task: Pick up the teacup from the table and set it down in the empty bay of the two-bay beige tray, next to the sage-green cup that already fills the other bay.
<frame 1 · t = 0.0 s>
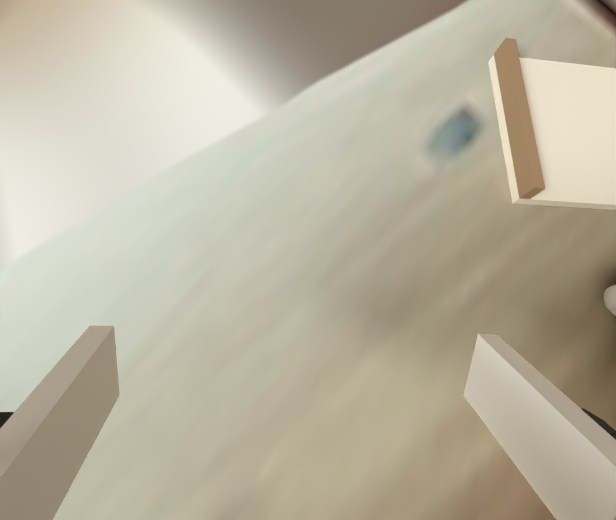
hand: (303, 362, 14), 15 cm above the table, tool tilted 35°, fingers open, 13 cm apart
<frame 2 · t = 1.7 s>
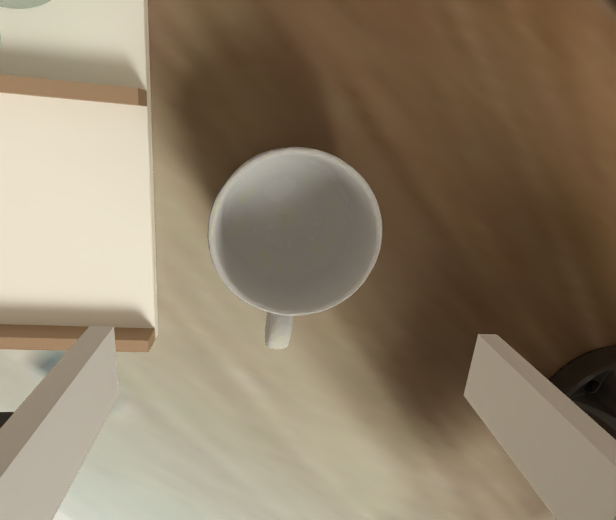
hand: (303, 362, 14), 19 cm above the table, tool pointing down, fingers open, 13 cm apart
beige tray: (28, 88, 27), on the table
teacup: (283, 230, 32), on the table
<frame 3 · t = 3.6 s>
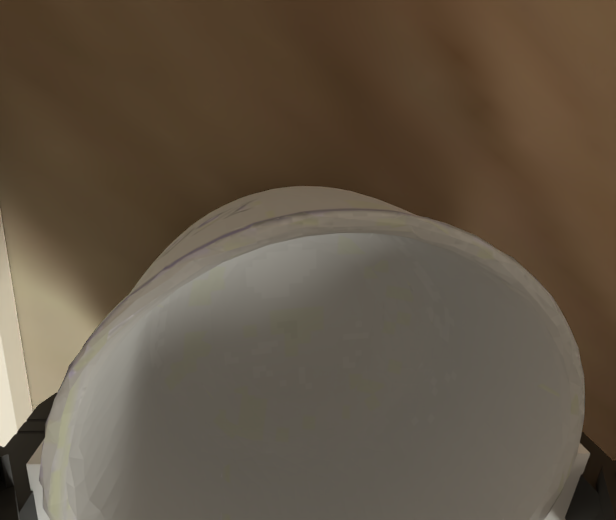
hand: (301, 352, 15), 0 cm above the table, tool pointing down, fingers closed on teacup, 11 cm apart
teacup: (289, 343, 16), on the table, touching gripper
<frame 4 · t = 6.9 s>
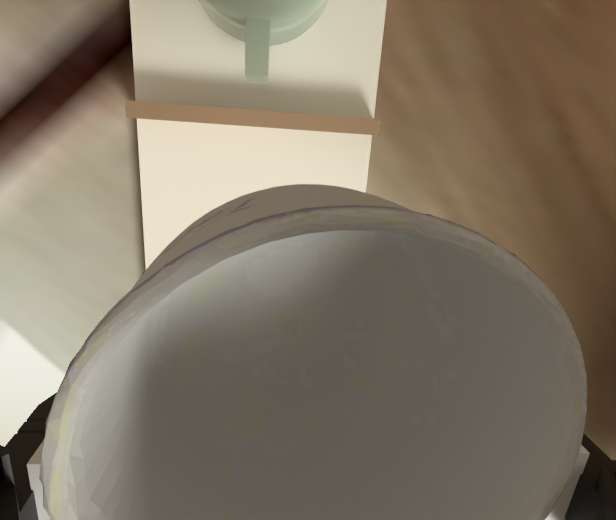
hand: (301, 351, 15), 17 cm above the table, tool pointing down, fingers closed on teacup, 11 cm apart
beige tray: (258, 119, 28), on the table
teacup: (289, 342, 16), point 16 cm above the table, touching gripper
when the fingers open (3 cm above the table, at t = 10.1 s): teacup drops 2 cm, resting on beige tray.
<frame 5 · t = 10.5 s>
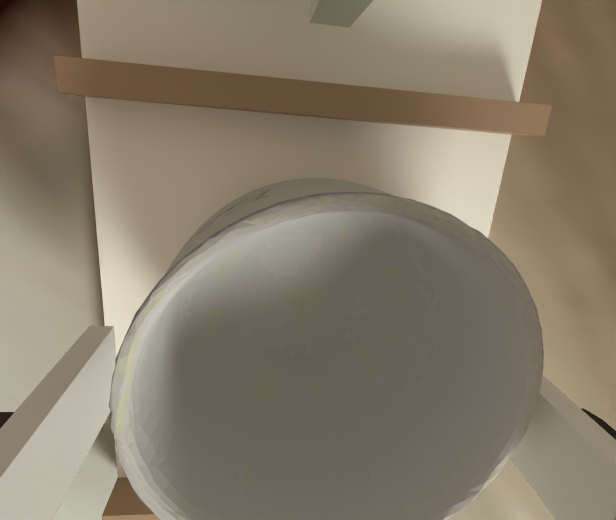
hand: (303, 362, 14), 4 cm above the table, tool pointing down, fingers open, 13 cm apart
beige tray: (310, 104, 16), on the table
teacup: (297, 320, 18), point 1 cm above the table, touching beige tray
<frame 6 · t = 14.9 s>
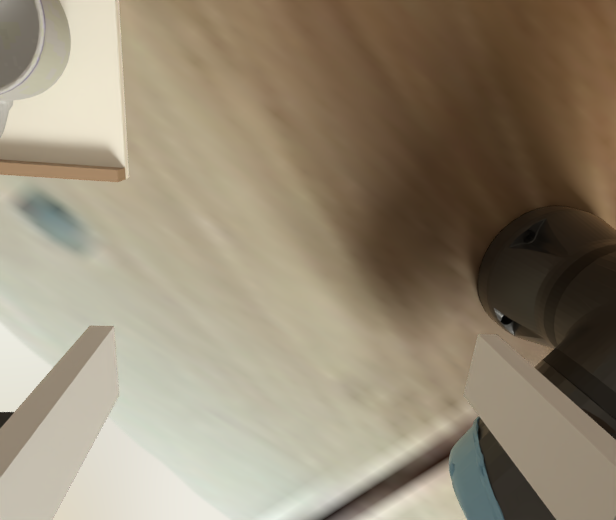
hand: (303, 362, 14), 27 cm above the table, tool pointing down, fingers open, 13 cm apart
teacup: (17, 54, 32), point 1 cm above the table, touching beige tray
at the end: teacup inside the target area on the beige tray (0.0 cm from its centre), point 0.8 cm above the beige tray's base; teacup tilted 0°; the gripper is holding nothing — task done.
